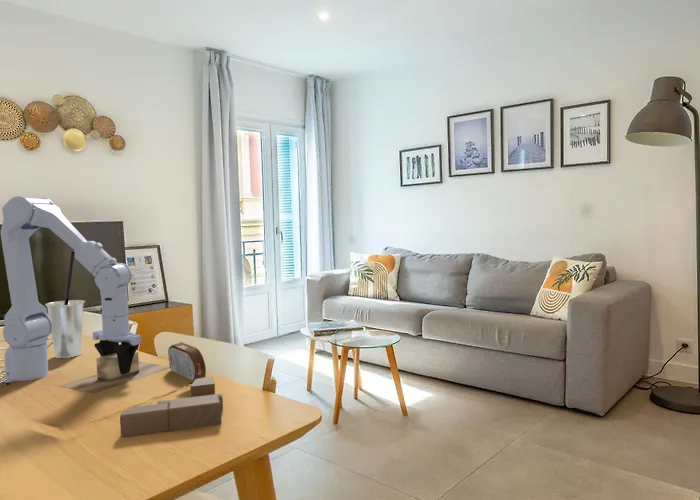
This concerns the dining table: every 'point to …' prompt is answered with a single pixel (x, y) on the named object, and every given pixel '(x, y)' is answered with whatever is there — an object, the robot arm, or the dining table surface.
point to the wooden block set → (176, 412)
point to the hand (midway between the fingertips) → (118, 372)
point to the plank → (96, 385)
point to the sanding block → (114, 367)
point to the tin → (186, 361)
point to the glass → (67, 322)
